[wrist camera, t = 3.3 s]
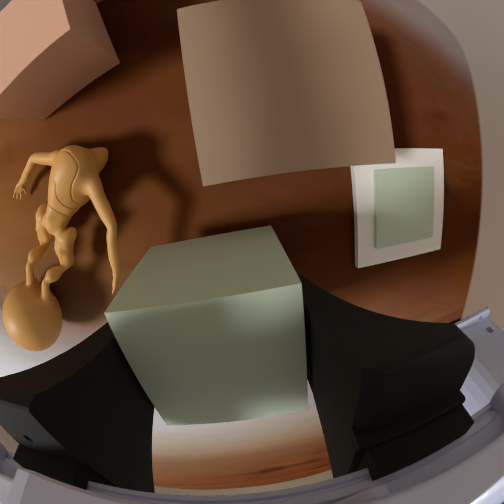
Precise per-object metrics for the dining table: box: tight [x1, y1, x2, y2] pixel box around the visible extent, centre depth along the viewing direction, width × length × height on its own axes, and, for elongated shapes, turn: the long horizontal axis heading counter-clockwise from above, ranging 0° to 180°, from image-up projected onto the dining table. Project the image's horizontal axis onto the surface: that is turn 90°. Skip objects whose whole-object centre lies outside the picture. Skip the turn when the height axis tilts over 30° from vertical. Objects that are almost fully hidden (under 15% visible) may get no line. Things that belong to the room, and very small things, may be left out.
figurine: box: [3, 145, 119, 351], centre depth 11 cm, size 8×6×12 cm
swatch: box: [351, 148, 444, 268], centre depth 13 cm, size 6×6×1 cm
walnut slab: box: [177, 0, 396, 186], centre depth 9 cm, size 7×7×3 cm
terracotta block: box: [0, 0, 120, 120], centre depth 6 cm, size 5×5×5 cm
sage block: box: [104, 225, 308, 425], centre depth 9 cm, size 5×5×5 cm
